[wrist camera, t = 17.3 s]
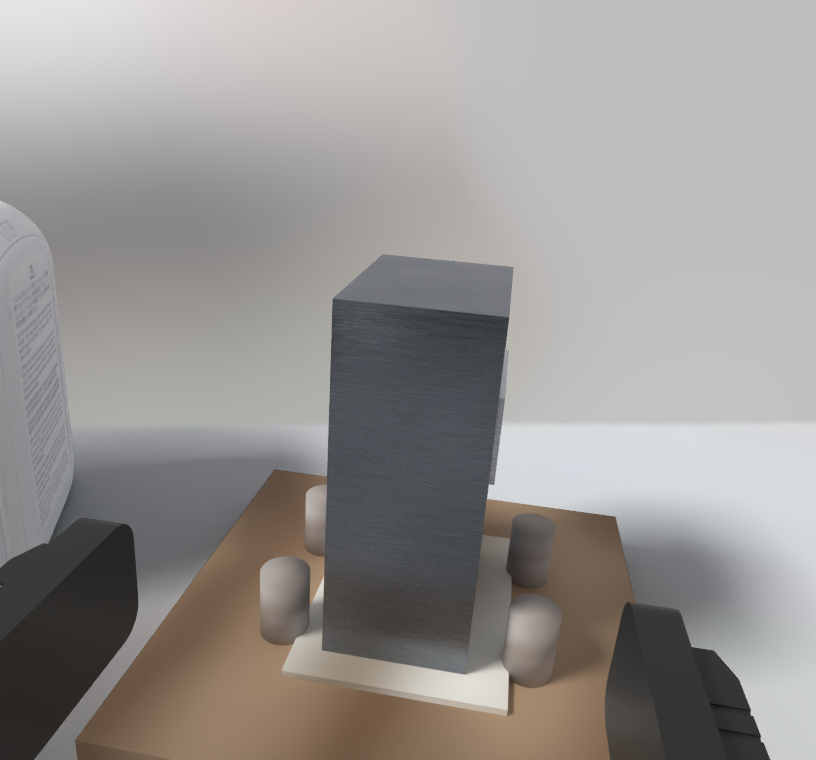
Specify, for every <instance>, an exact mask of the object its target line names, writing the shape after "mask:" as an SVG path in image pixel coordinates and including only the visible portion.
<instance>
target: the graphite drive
mask: <svg viewBox="0 0 816 760" xmlns="http://www.w3.org/2000/svg"><path fill="white" fill-rule="evenodd" d="M512 276H513V267H506V266H496V265H484V264H474V263H465V262H455V261H444V260H434V259H424V258H414V257H404V256H393V255H382V256H380V257H379V258H378V259H377V260H376V261H375V262H374V263H373V264H371V265H370V266H369V267H368V268H367V269H366V270H365V271H364V272H362V273H361V274H360V275H359V276H358V277H357V278H356V279H355V280H353V281H352V282H351V283H350V284H349V285H348V286H347V287H345V288H344V289H343V290H342V291H341V292H340V293H339V294H337V296H335V297H334V298H333V309H332V340H331V341H332V342H331V372H330V404H329V405H330V406H329V436H328V467H327V499H326V531H325V562H324V594H323V626H322V651H328V652H334V653H340V654H346V655H352V656H358V657H364V658H369V659H375V660H381V661H387V662H393V663H399V664H405V665H411V666H416V667H422V668H428V669H434V670H440V671H446V672H452V673H458V674H464V675H465V673H466V665H467V657H468V649H469V641H470V632H471V624H472V616H473V608H474V600H475V592H476V583H477V575H478V567H479V559H480V551H481V543H482V534H483V526H484V518H485V510H486V502H487V494H488V485H489V484H491V485H494V482H495V474H496V466H497V458H498V450H499V442H500V434H501V426H502V418H503V410H504V402H505V392H506V378H507V365H508V350H505V346H506V338H507V330H508V322H509V312H510V300H511V288H512Z"/></svg>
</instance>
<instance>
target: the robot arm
mask: <svg viewBox="0 0 816 760" xmlns="http://www.w3.org/2000/svg"><path fill="white" fill-rule="evenodd" d="M137 610H138V591H137V577H136V564H135V550H134V538H133V532H132V530H131V528H130V527H129V526H128V525H126V524H120V523H114V522H107V521H101V520H95V519H88V518H81V519H79V520H77V521H76V522H74V523H73V524H72V525H71V526H70V527H69V528H67V529H66V530H65V531H64V532H63V533H62V534H61V535H59V536H58V537H57V538H56V539H55V540H54V541H53V542H52V543H50V544H46V543H42V544H40V545H38V546H36V547H34V548H32V549H30V550H28V551H26V552H24V553H22V554H20V555H18V556H16V557H14V558H12V559H10V560H9V561H7V562H6V563H5V564H4V565H3V566H2V567H0V760H34V759H35V758H36V757H37V755H38V754H39V753H40V751H41V750H42V749H43V747H44V746H45V745H46V744H47V742H48V741H49V740H50V738H51V737H52V736H53V735H54V733H55V732H56V731H57V729H58V728H59V727H60V725H61V724H62V723H63V722H64V720H65V719H66V718H67V716H68V715H69V714H70V713H71V711H72V710H73V709H74V707H75V706H76V705H77V704H78V702H79V701H80V700H81V698H82V697H83V696H84V694H85V693H86V692H87V691H88V689H89V688H90V687H91V685H92V684H93V683H94V682H95V680H96V679H97V678H98V676H99V675H100V674H101V672H102V671H103V670H104V669H105V667H106V666H107V665H108V663H109V662H110V661H111V660H112V658H113V657H114V656H115V654H116V653H117V652H118V651H119V649H120V648H121V647H122V645H123V644H124V643H125V641H126V640H127V638H128V637H129V635H130V633H131V631H132V628H133V626H134V623H135V620H136V616H137ZM750 711H751V709H750V707H749V704H748V702H747V699H746V697H745V694H744V691H743V689H742V686H741V684H740V681H739V679H738V678H737V677H736V676H735V674H734V673H733V672H732V671H731V670H730V669H729V668H728V666H727V665H726V664H725V663H724V662H723V661H722V660H721V658H720V657H719V656H718V655H717V654H716V653H715V652H714V651H712V650H706V649H700V648H694V647H691V644H690V641H689V638H688V635H687V632H686V629H685V626H684V623H683V619H682V616H681V614H680V612H679V611H678V610H676V609H669V608H663V607H657V606H650V605H644V604H638V603H631V602H627V603H626V604H625V606H624V609H623V612H622V616H621V620H620V625H619V629H618V634H617V638H616V643H615V647H614V652H613V656H612V661H611V665H610V670H609V674H608V679H607V684H606V692H605V725H606V733H607V740H608V748H609V755H610V760H770V758H769V756H768V753H767V751H766V748H765V745H764V743H762V742H761V740H760V738H761V735H760V733H759V730H758V727H757V725H756V722H755V720H754V717H753V716H751V714H750Z"/></svg>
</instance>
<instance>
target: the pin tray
mask: <svg viewBox="0 0 816 760" xmlns="http://www.w3.org/2000/svg"><path fill="white" fill-rule="evenodd" d="M326 499H327V477H324V476H317V475H310V474H303V473H295V472H288V471H281V470H274V471H273V473H272V474H271V475H270V477H269V478H268V479H267V481H266V482H265V483H264V485H263V486H262V487H261V489H260V490H259V492H258V493H257V494H256V496H255V497H254V498H253V500H252V501H251V502H250V504H249V505H248V507H247V508H246V509H245V511H244V512H243V513H242V515H241V516H240V517H239V519H238V520H237V521H236V523H235V524H234V526H233V527H232V528H231V530H230V531H229V532H228V534H227V535H226V536H225V538H224V539H223V540H222V542H221V543H220V545H219V546H218V547H217V549H216V550H215V551H214V553H213V554H212V555H211V557H210V558H209V560H208V561H207V562H206V564H205V565H204V566H203V568H202V569H201V570H200V572H199V573H198V574H197V576H196V577H195V579H194V580H193V581H192V583H191V584H190V585H189V587H188V588H187V589H186V591H185V592H184V593H183V595H182V596H181V598H180V599H179V600H178V602H177V603H176V604H175V606H174V607H173V608H172V610H171V611H170V613H169V614H168V615H167V617H166V618H165V619H164V621H163V622H162V623H161V625H160V626H159V627H158V629H157V630H156V632H155V633H154V634H153V636H152V637H151V638H150V640H149V641H148V642H147V644H146V645H145V646H144V648H143V649H142V651H141V652H140V653H139V655H138V656H137V657H136V659H135V660H134V661H133V663H132V664H131V666H130V667H129V668H128V670H127V671H126V672H125V674H124V675H123V676H122V678H121V679H120V680H119V682H118V683H117V685H116V686H115V687H114V689H113V690H112V691H111V693H110V694H109V695H108V697H107V698H106V699H105V701H104V702H103V704H102V705H101V706H100V708H99V709H98V710H97V712H96V713H95V714H94V716H93V717H92V719H91V720H90V721H89V723H88V724H87V725H86V727H85V728H84V729H83V731H82V732H81V733H80V735H79V736H78V738H77V739H76V740H75V742H76V750H77V758H78V760H610V755H609V748H608V740H607V733H606V725H605V692H606V684H607V679H608V674H609V670H610V665H611V661H612V656H613V652H614V647H615V643H616V638H617V634H618V629H619V625H620V620H621V616H622V612H623V609H624V606H625V604H626V603H627V602H631V603H635V601H634V596H633V592H632V588H631V583H630V579H629V575H628V570H627V566H626V561H625V557H624V553H623V548H622V544H621V540H620V535H619V531H618V527H617V522H616V518H615V517H613V516H605V515H598V514H591V513H584V512H576V511H569V510H562V509H555V508H548V507H540V506H533V505H526V504H519V503H512V502H504V501H497V500H490V499H487V502H486V510H485V518H484V526H483V534H482V543H481V551H480V559H479V567H478V575H477V583H476V592H475V600H474V608H473V616H472V624H471V632H470V641H469V649H468V657H467V665H466V673H465V675H464V674H458V673H452V672H446V671H440V670H434V669H428V668H422V667H416V666H411V665H405V664H399V663H393V662H387V661H381V660H375V659H369V658H364V657H358V656H352V655H346V654H340V653H334V652H328V651H322V626H323V594H324V562H325V531H326Z"/></svg>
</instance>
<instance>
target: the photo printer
mask: <svg viewBox="0 0 816 760" xmlns="http://www.w3.org/2000/svg"><path fill="white" fill-rule="evenodd" d="M69 418H70V417H69V408H68V399H67V390H66V382H65V372H64V362H63V353H62V344H61V335H60V325H59V317H58V307H57V298H56V289H55V279H54V269H53V261H52V256H51V252H50V249H49V246H48V244H47V242H46V240H45V238H44V236H43V235H42V233H41V232H40V230H39V229H38V227H37V226H36V225H35V224H34V223H33V222H32V221H31V220H30V219H29V218H28V217H27V216H26V215H24V214H23V213H21V212H20V211H18V210H17V209H15V208H13V207H12V206H10V205H8V204H6V203H4V202H2V201H0V567H2V566H3V565H4V564H5V563H6V562H7V561H9V560H10V559H12V558H14V557H16V556H18V555H20V554H22V553H24V552H26V551H28V550H30V549H32V548H34V547H36V546H38V545H40V544H42V543H46V544H48V543H49V541H50V539H51V536H52V534H53V531H54V529H55V527H56V524H57V522H58V520H59V517H60V515H61V512H62V510H63V507H64V505H65V502H66V500H67V498H68V494H69V491H70V488H71V485H72V481H73V475H74V451H73V443H72V434H71V426H70V419H69Z"/></svg>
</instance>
